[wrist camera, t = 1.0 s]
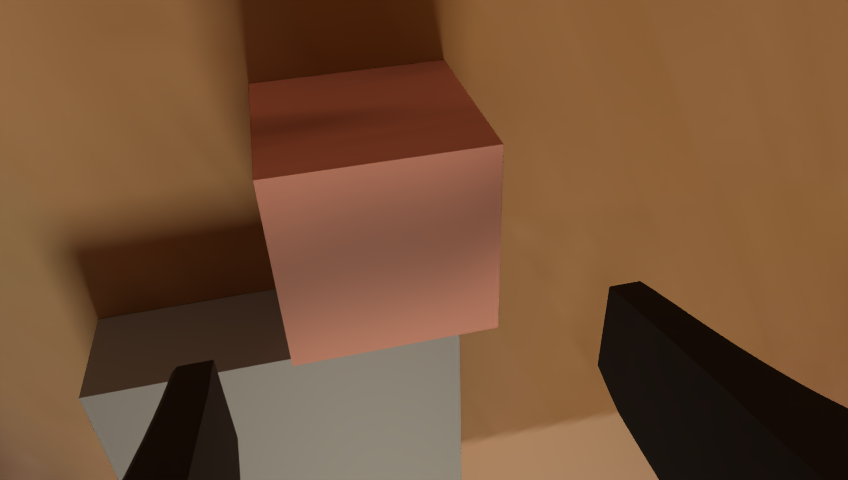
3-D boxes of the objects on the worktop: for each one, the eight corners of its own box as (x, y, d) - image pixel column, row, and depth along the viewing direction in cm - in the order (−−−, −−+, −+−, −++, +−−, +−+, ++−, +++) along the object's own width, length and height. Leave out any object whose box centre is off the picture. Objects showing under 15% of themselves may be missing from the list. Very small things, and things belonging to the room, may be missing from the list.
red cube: (447, 218, 21) (498, 327, 17) (280, 245, 20) (292, 366, 16) (443, 58, 18) (503, 144, 14) (248, 82, 17) (253, 180, 13)
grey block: (439, 454, 28) (462, 532, 25) (183, 509, 26) (176, 599, 23) (430, 255, 22) (459, 327, 19) (100, 310, 20) (78, 398, 17)
